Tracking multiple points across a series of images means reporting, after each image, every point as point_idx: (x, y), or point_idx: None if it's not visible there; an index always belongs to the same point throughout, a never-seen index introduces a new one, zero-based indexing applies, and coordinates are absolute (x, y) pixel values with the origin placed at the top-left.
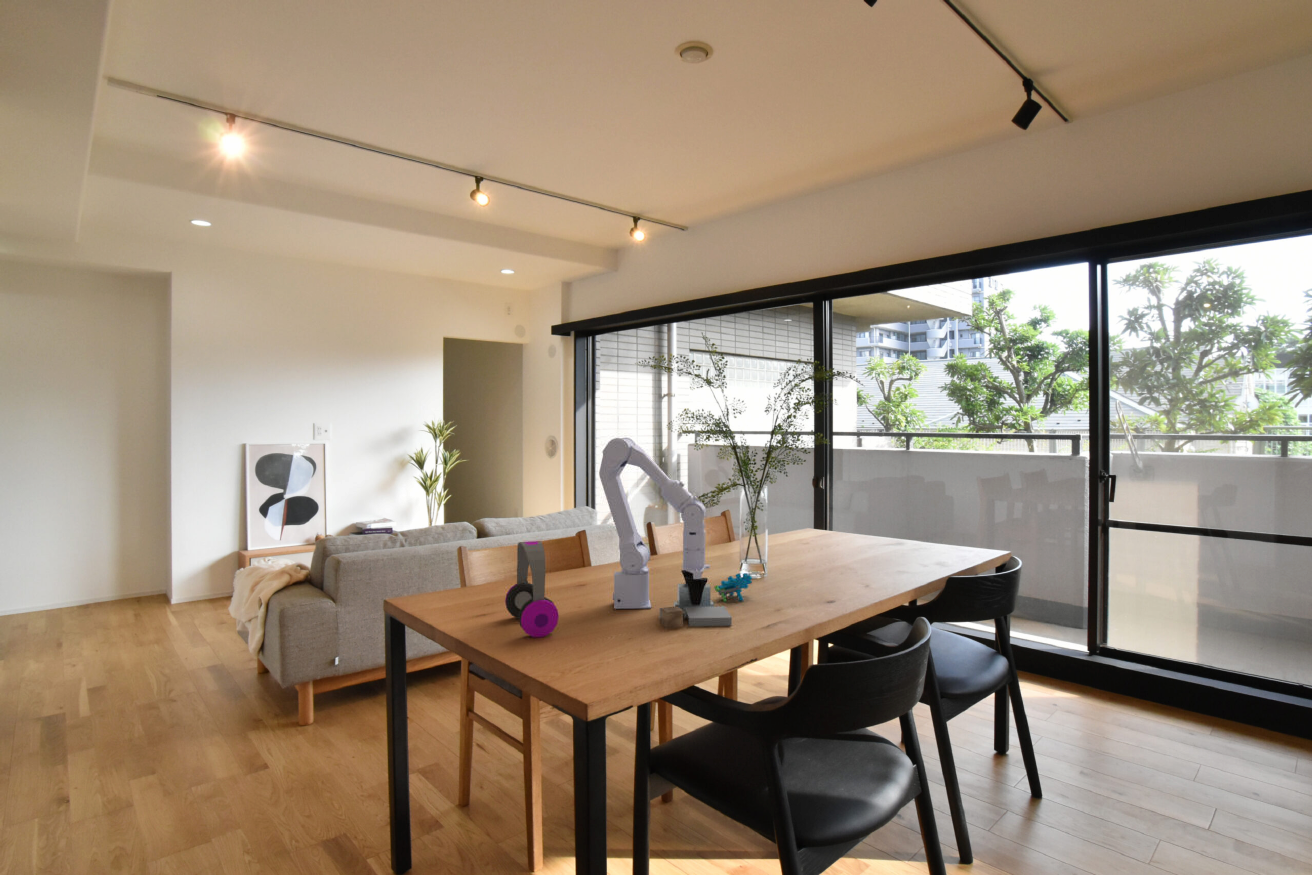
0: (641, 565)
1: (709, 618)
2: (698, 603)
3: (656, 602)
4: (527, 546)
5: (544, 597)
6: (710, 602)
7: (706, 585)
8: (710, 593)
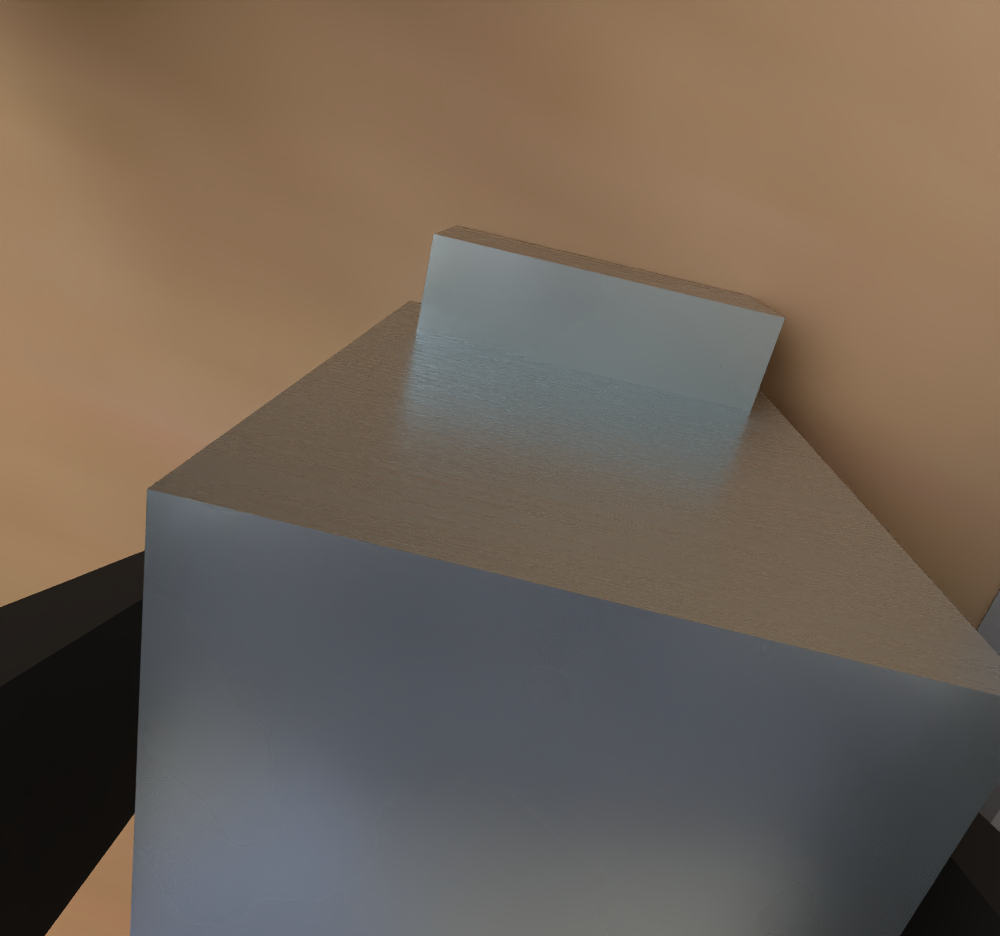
0: None
1: None
2: None
3: (72, 924)
4: None
5: None
6: (583, 336)
7: (608, 732)
8: (895, 544)
